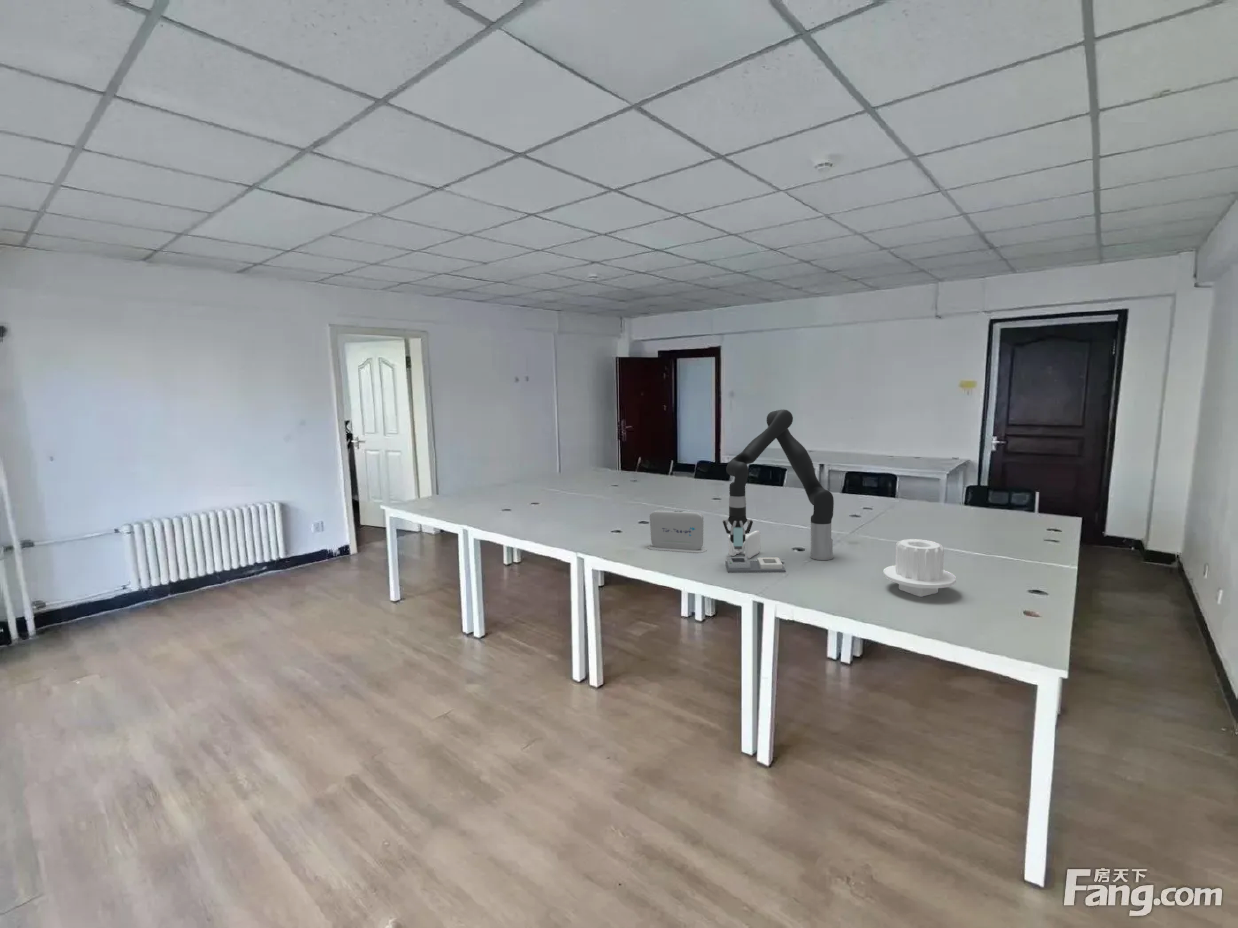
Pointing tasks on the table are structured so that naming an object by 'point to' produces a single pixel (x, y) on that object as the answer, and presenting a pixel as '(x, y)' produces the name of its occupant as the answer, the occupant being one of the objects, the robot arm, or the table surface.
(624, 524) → the table surface
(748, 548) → the cable organizer
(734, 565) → the block
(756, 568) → the panel base
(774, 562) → the light grey square tray
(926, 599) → the table surface
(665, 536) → the wireless router
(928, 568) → the flanged gear
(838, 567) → the table surface
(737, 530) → the plug
